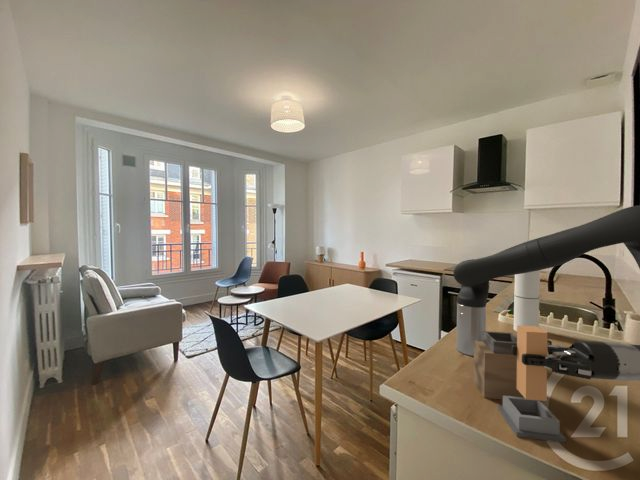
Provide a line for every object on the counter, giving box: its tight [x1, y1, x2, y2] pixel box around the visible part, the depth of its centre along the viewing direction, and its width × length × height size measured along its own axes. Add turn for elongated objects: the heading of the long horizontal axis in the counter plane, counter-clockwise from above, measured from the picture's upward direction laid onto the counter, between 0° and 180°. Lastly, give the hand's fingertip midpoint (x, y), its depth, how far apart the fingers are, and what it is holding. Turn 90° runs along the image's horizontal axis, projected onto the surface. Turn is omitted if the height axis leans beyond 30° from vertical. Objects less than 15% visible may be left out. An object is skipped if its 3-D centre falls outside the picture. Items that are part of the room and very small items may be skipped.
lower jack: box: [497, 396, 566, 443], centre depth 62 cm, size 9×9×4 cm
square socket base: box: [472, 330, 524, 400], centre depth 74 cm, size 8×12×15 cm, turn 79°
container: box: [513, 270, 541, 332], centre depth 117 cm, size 9×9×30 cm
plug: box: [516, 325, 548, 402], centre depth 61 cm, size 4×4×15 cm
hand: (517, 354), depth 62 cm, fingers closed on plug, 4 cm apart
